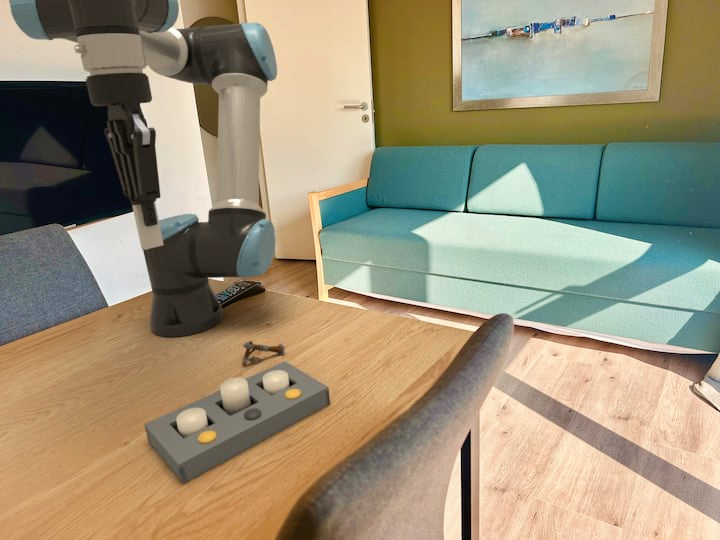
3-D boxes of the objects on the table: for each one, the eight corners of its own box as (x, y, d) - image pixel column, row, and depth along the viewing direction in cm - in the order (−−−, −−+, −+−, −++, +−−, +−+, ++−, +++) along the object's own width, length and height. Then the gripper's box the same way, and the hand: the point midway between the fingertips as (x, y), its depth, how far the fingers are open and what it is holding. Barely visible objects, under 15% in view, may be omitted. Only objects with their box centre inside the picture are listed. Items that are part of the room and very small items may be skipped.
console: (148, 441, 74) (143, 422, 73) (286, 376, 89) (284, 359, 88) (183, 483, 66) (178, 462, 65) (330, 403, 80) (328, 385, 79)
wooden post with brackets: (236, 362, 93) (242, 339, 93) (275, 365, 98) (281, 342, 98) (239, 366, 92) (246, 342, 91) (279, 368, 97) (285, 346, 96)
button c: (260, 397, 83) (257, 377, 81) (281, 387, 85) (279, 367, 84) (274, 407, 80) (271, 386, 78) (295, 397, 82) (293, 376, 81)
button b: (219, 407, 78) (215, 385, 76) (242, 396, 80) (239, 374, 79) (231, 418, 75) (228, 395, 74) (255, 406, 77) (252, 384, 76)
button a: (176, 438, 74) (171, 416, 73) (202, 426, 76) (198, 404, 75) (188, 451, 71) (183, 428, 70) (214, 438, 74) (210, 415, 72)
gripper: (71, 77, 69) (111, 244, 77) (101, 70, 60) (143, 262, 68) (128, 75, 74) (160, 233, 82) (164, 68, 65) (196, 248, 73)
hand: (152, 246), depth 75 cm, fingers closed
